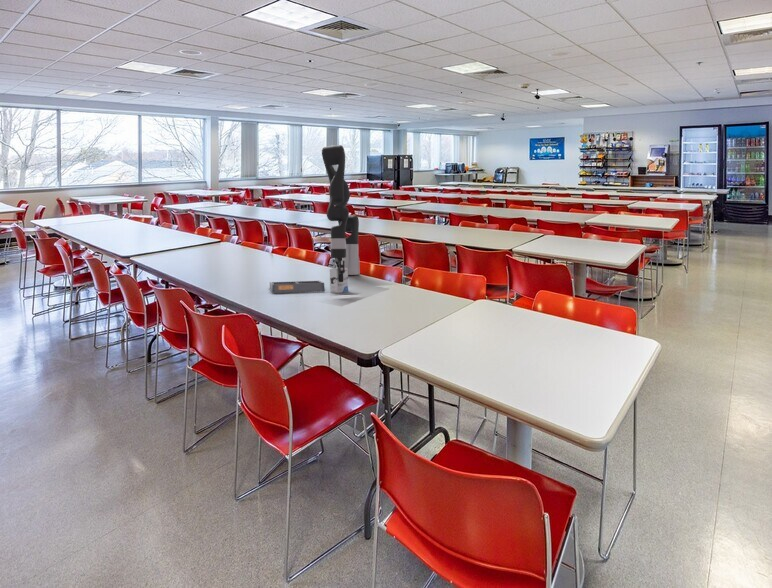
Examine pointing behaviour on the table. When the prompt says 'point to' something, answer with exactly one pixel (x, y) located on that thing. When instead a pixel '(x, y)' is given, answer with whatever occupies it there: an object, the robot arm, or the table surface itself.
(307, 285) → the tray
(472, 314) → the table surface
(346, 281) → the ink box
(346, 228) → the robot arm
